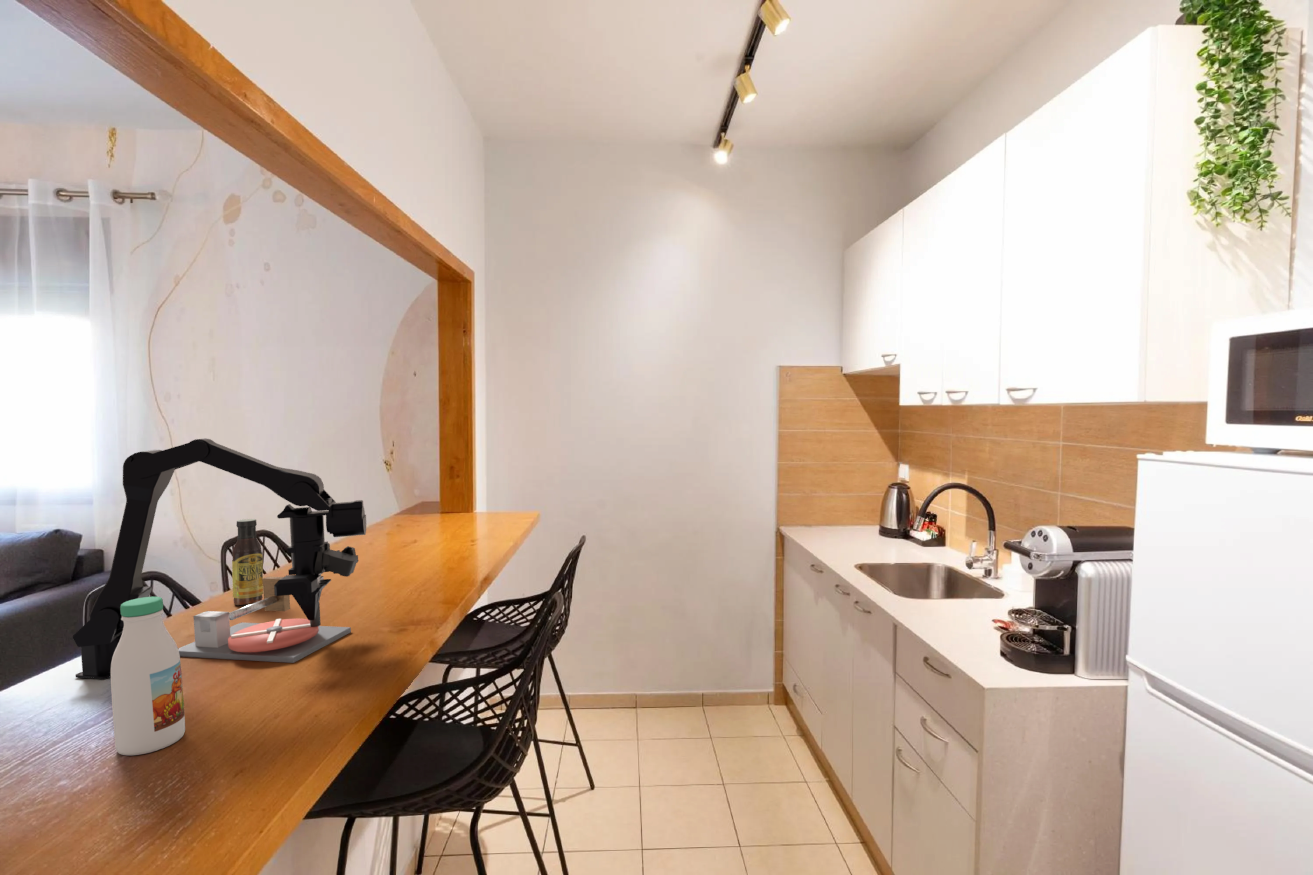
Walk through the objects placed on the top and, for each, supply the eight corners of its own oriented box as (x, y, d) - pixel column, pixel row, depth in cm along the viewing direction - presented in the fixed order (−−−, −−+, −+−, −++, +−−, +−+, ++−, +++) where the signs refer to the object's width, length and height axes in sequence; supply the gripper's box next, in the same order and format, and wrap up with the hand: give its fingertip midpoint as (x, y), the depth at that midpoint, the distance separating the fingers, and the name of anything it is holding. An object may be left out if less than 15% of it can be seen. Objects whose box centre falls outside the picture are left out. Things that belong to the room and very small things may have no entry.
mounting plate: (293, 662, 119) (291, 625, 118) (172, 655, 124) (170, 619, 124) (350, 632, 135) (349, 598, 134) (241, 626, 140) (239, 594, 139)
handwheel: (318, 642, 123) (317, 613, 122) (221, 657, 116) (219, 626, 116) (323, 619, 136) (321, 592, 136) (235, 631, 130) (234, 604, 130)
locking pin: (242, 628, 131) (240, 594, 130) (221, 627, 132) (218, 593, 131) (290, 608, 143) (288, 577, 143) (270, 608, 144) (268, 576, 144)
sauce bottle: (239, 608, 153) (234, 523, 152) (228, 603, 157) (223, 521, 156) (269, 600, 158) (264, 519, 157) (258, 596, 162) (253, 516, 161)
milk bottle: (129, 763, 86) (119, 612, 85) (105, 748, 90) (95, 604, 89) (196, 736, 92) (186, 596, 91) (171, 723, 97) (161, 589, 95)
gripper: (338, 545, 118) (342, 631, 119) (365, 528, 137) (368, 603, 137) (270, 549, 117) (275, 637, 117) (307, 532, 135) (311, 607, 135)
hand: (311, 619), depth 127 cm, fingers closed
